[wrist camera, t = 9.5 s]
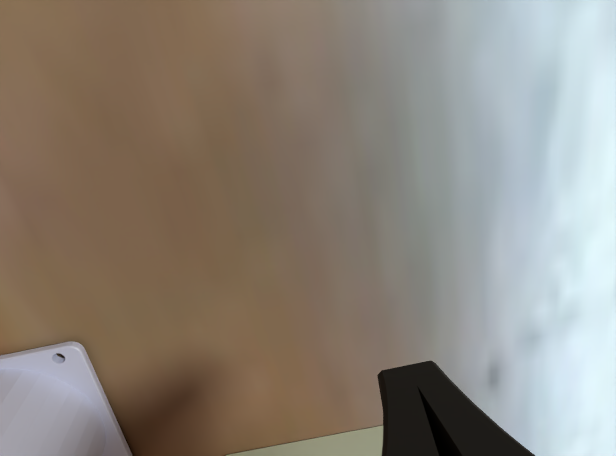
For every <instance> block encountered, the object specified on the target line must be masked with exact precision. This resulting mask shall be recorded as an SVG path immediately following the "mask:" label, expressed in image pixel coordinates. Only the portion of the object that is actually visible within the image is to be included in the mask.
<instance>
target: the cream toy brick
mask: <svg viewBox="0 0 616 456" xmlns="http://www.w3.org/2000/svg"><path fill="white" fill-rule="evenodd" d="M382 446H383V426H377V427H372V428H367V429H361V430H356V431H351V432H345V433H340V434H335V435H330V436H324V437H319V438H314V439H308V440H303V441H298V442H292V443H287V444H282V445H277V446H271V447H266V448H261V449H255V450H250V451H245V452H239V453H234V454H229V455H226V456H382Z"/></svg>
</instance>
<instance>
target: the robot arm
mask: <svg viewBox="0 0 616 456" xmlns="http://www.w3.org/2000/svg"><path fill="white" fill-rule="evenodd" d="M56 353H60V354H62V355H63V356H64V357H65V358H61V357H59V356H57V354H56ZM378 381H379V388H380V394H381V400H382V406H383V446H382V456H535V455H534V454H532V453H531V452H530V451H529V450H527V449H526V448H525V447H524V446H522V445H521V444H520V443H519V442H517V441H516V440H515V439H514V438H512V437H511V436H510V435H509V434H508V433H506V432H505V431H504V430H503V429H502V428H501V427H499V426H498V425H497V424H496V423H495V422H494V421H493V420H492V419H490V418H489V417H488V416H487V415H486V414H485V413H484V412H483V411H482V410H481V409H479V408H478V407H477V406H476V405H475V404H474V403H473V402H472V401H471V400H470V399H469V398H468V397H467V396H466V395H465V394H464V393H463V392H462V391H461V390H460V389H459V388H458V387H457V386H456V385H455V384H454V383H453V382H452V381H451V380H450V379H449V378H448V377H447V376H446V375H445V373H444V372H443V371H442V370H441V369H440V368H439V367H438V366H437V364H436V363H434V362H433V361H426V362H421V363H417V364H412V365H407V366H402V367H397V368H392V369H387V370H382V371H381V372H380V373H379V374H378ZM0 456H133V455H132V453H131V451H130V449H129V446H128V444H127V442H126V440H125V437H124V435H123V433H122V431H121V429H120V426H119V424H118V422H117V420H116V417H115V415H114V413H113V411H112V409H111V406H110V404H109V402H108V400H107V397H106V395H105V393H104V391H103V389H102V386H101V384H100V382H99V380H98V377H97V375H96V373H95V371H94V368H93V366H92V364H91V362H90V360H89V357H88V355H87V353H86V351H85V349H84V347H83V346H82V345H81V344H79V343H77V342H74V341H72V342H64V343H60V344H55V345H50V346H45V347H40V348H35V349H30V350H25V351H20V352H16V353H11V354H6V355H1V356H0Z"/></svg>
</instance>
